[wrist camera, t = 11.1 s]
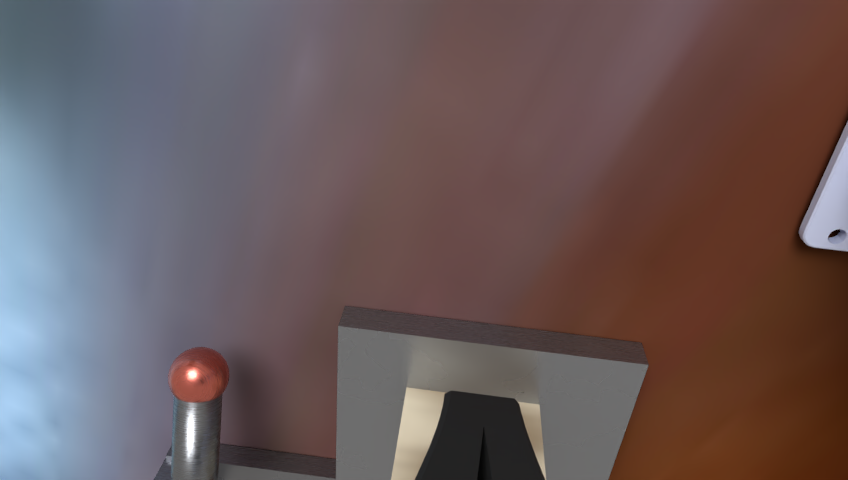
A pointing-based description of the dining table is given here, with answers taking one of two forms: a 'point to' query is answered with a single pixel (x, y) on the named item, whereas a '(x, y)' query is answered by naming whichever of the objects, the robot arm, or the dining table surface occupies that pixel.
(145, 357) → the dining table surface
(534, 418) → the block
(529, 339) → the grey panel board
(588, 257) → the dining table surface
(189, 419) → the lever
